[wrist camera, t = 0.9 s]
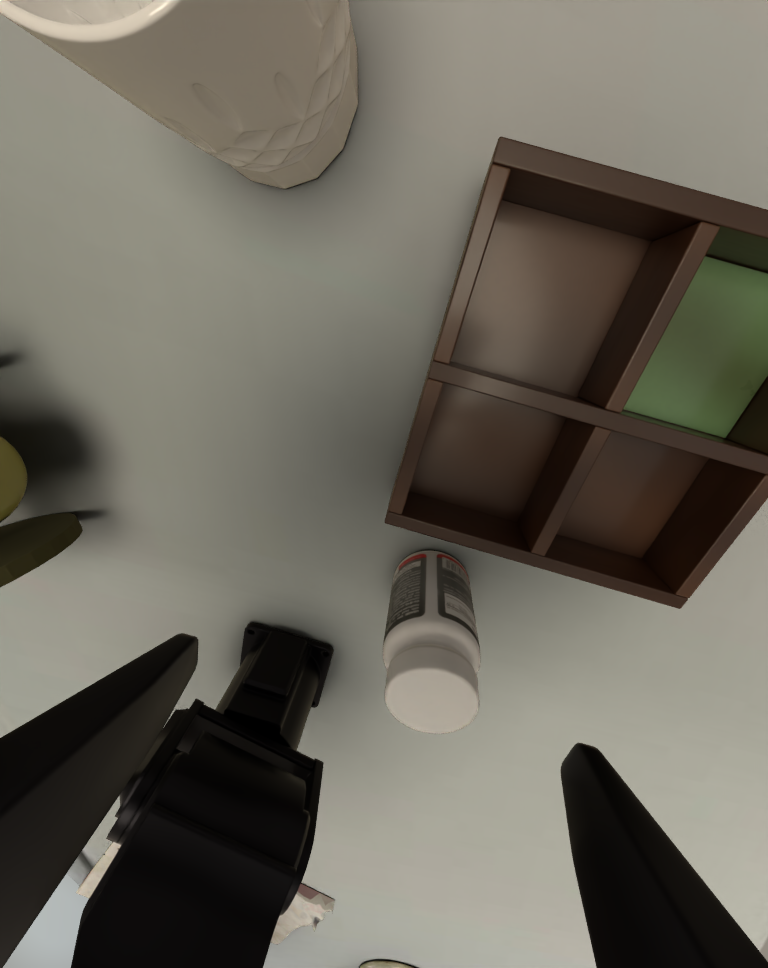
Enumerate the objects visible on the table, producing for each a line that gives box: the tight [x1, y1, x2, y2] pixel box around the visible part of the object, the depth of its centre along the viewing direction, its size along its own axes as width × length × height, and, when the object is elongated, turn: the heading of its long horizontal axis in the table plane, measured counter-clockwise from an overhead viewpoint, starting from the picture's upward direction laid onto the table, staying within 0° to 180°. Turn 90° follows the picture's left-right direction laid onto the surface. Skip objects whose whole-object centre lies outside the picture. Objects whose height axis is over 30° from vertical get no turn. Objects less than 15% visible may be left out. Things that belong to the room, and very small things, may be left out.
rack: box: [385, 137, 768, 609], centre depth 16 cm, size 15×15×4 cm
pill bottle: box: [383, 551, 480, 734], centre depth 19 cm, size 5×5×8 cm
